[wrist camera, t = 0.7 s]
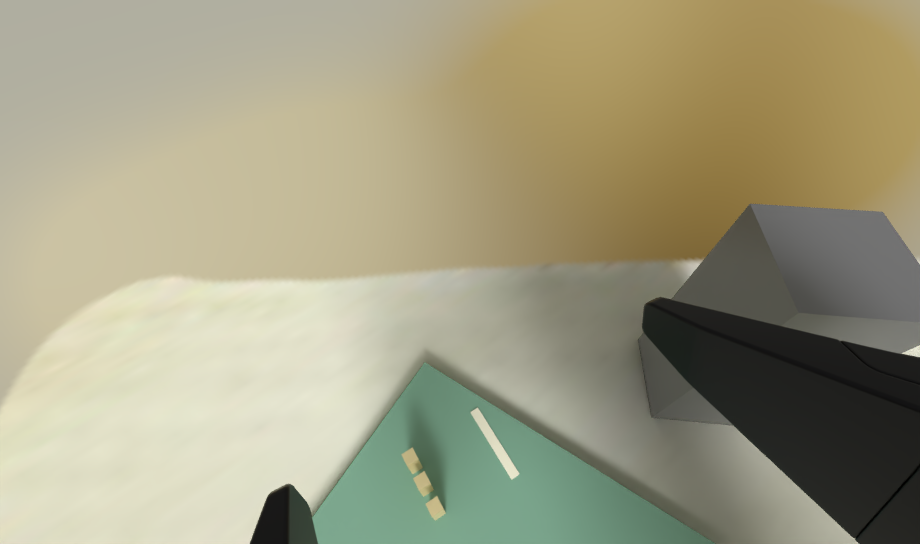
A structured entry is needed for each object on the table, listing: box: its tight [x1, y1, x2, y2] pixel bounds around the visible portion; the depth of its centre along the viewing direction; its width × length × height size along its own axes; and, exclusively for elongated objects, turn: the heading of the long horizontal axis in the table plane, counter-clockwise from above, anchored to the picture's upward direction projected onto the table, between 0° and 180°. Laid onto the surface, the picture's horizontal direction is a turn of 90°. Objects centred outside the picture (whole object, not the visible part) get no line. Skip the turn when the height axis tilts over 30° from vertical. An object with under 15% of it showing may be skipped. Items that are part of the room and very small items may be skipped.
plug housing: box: [638, 204, 920, 425], centre depth 19 cm, size 5×5×12 cm
